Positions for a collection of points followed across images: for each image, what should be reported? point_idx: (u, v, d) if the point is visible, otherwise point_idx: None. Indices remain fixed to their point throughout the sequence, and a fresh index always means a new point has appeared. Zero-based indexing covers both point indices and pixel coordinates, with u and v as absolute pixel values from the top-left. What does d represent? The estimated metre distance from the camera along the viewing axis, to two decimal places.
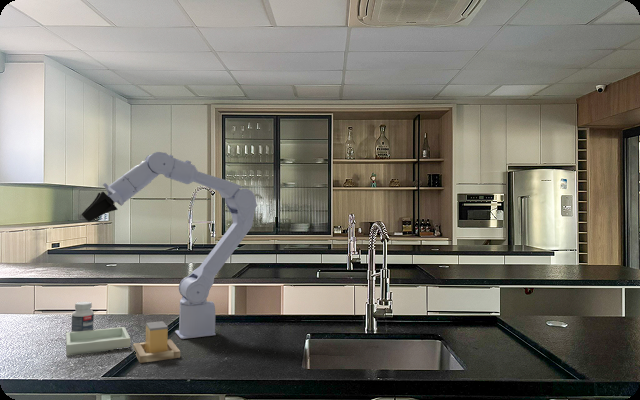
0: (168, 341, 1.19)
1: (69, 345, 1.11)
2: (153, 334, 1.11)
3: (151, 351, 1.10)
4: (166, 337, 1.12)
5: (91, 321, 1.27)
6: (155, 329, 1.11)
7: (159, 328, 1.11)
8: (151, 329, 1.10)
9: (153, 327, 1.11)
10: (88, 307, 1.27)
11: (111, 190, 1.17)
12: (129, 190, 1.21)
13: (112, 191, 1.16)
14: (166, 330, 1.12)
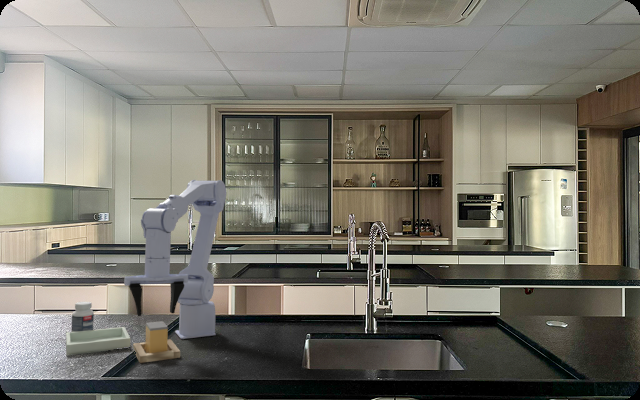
0: (168, 341, 1.19)
1: (69, 345, 1.11)
2: (153, 334, 1.11)
3: (151, 351, 1.10)
4: (166, 337, 1.12)
5: (91, 321, 1.27)
6: (155, 329, 1.11)
7: (159, 328, 1.11)
8: (151, 329, 1.10)
9: (153, 327, 1.11)
10: (88, 307, 1.27)
11: (176, 277, 1.14)
12: None
13: (179, 277, 1.15)
14: (166, 330, 1.12)
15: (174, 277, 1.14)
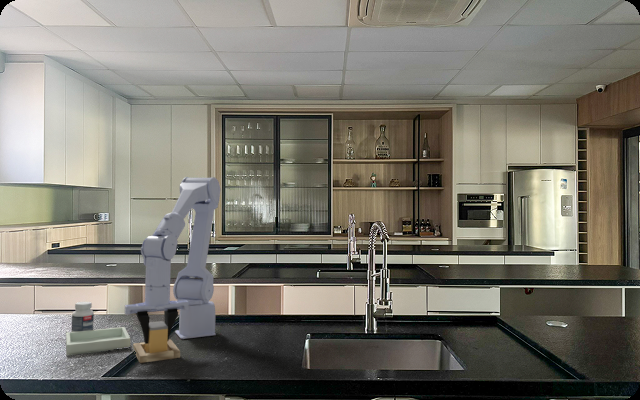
0: (168, 341, 1.19)
1: (69, 345, 1.11)
2: (154, 334, 1.11)
3: (151, 351, 1.10)
4: (166, 337, 1.12)
5: (91, 321, 1.27)
6: (155, 329, 1.11)
7: (159, 328, 1.11)
8: (151, 329, 1.10)
9: (153, 327, 1.11)
10: (88, 307, 1.27)
11: (176, 304, 1.14)
12: None
13: (179, 304, 1.15)
14: (166, 330, 1.12)
15: (174, 304, 1.14)
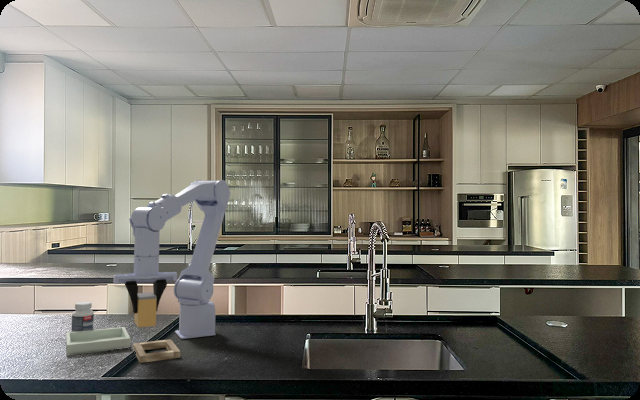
0: (168, 341, 1.19)
1: (69, 345, 1.11)
2: (142, 304, 1.12)
3: (140, 320, 1.11)
4: (155, 307, 1.13)
5: (91, 321, 1.27)
6: (144, 298, 1.12)
7: (148, 297, 1.12)
8: (140, 298, 1.11)
9: (142, 297, 1.13)
10: (88, 307, 1.27)
11: (165, 275, 1.16)
12: None
13: (168, 275, 1.16)
14: (155, 300, 1.13)
15: (163, 275, 1.15)
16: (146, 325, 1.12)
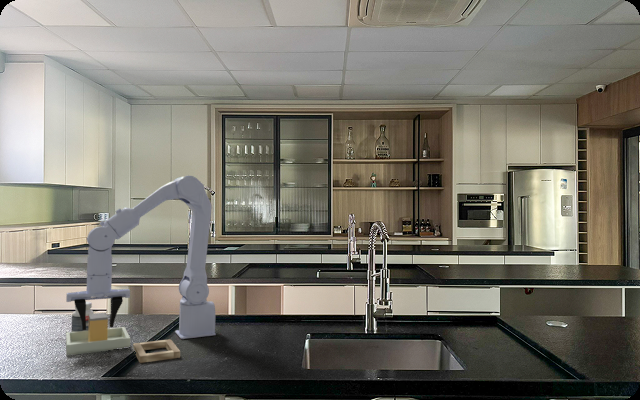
0: (168, 341, 1.19)
1: (69, 345, 1.11)
2: (93, 325, 1.16)
3: (91, 340, 1.16)
4: (106, 327, 1.18)
5: None
6: (95, 319, 1.16)
7: (99, 318, 1.17)
8: (91, 319, 1.16)
9: (93, 318, 1.17)
10: (88, 307, 1.27)
11: (117, 293, 1.20)
12: None
13: (121, 292, 1.21)
14: (106, 320, 1.17)
15: (115, 293, 1.20)
16: None
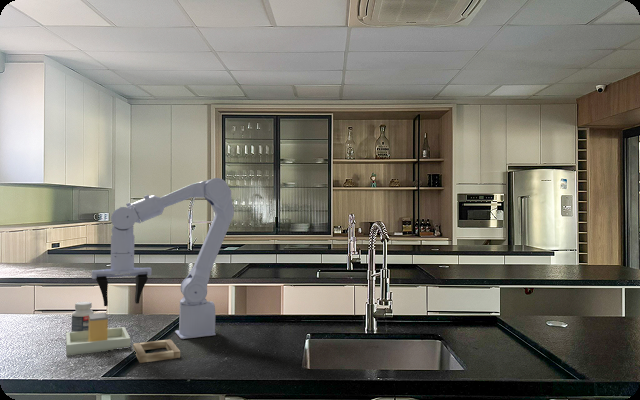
0: (168, 341, 1.19)
1: (69, 345, 1.11)
2: (93, 325, 1.16)
3: (91, 340, 1.16)
4: (106, 327, 1.18)
5: None
6: (95, 319, 1.16)
7: (99, 318, 1.17)
8: (91, 319, 1.16)
9: (93, 318, 1.17)
10: (88, 307, 1.27)
11: (140, 270, 1.25)
12: None
13: (143, 270, 1.26)
14: (106, 320, 1.17)
15: (138, 270, 1.25)
16: None
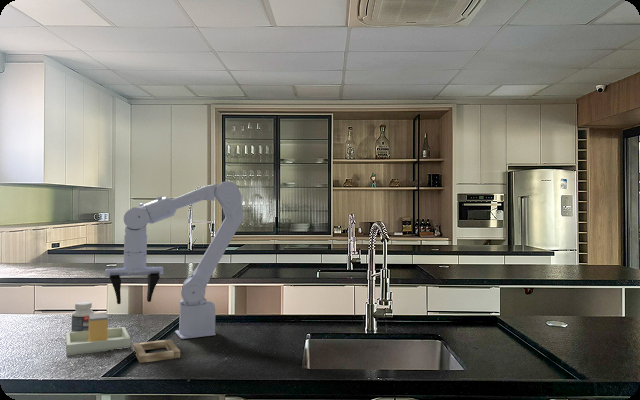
0: (168, 341, 1.19)
1: (69, 345, 1.11)
2: (93, 325, 1.16)
3: (91, 340, 1.16)
4: (106, 327, 1.18)
5: None
6: (95, 319, 1.16)
7: (99, 318, 1.17)
8: (91, 319, 1.16)
9: (93, 318, 1.17)
10: (88, 307, 1.27)
11: (152, 269, 1.28)
12: None
13: (155, 269, 1.29)
14: (106, 320, 1.17)
15: (150, 269, 1.28)
16: None
